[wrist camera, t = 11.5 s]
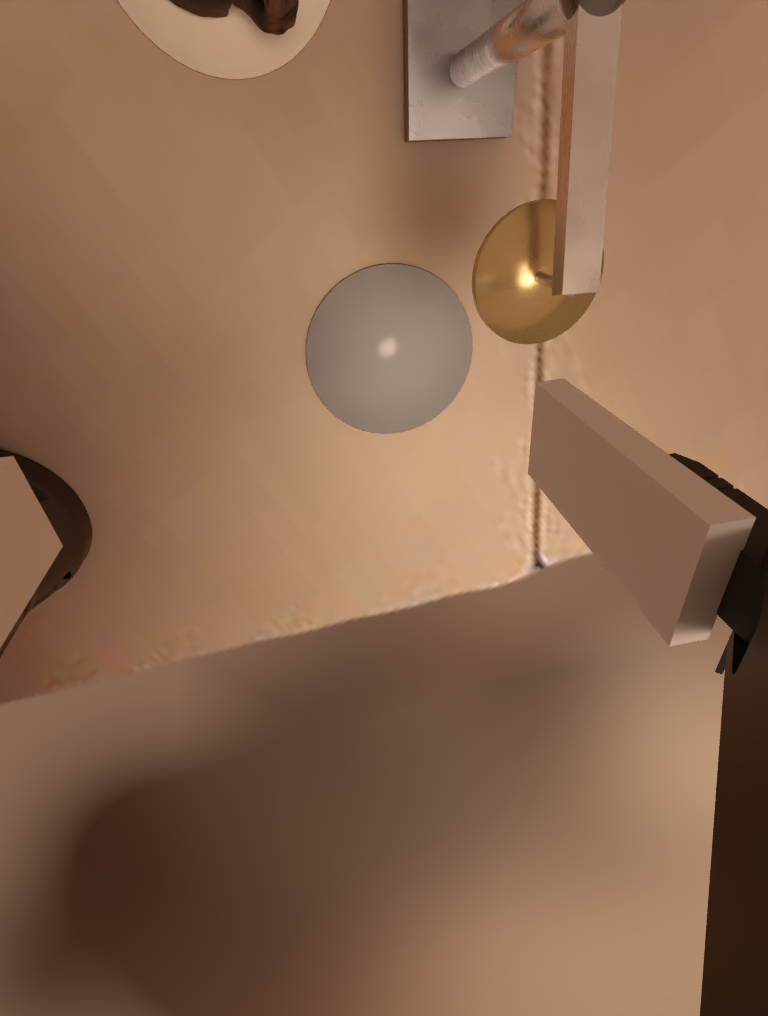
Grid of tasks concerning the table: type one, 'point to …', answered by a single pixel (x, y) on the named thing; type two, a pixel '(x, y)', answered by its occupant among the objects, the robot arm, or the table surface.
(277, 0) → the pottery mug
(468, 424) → the table surface
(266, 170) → the table surface
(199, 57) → the cream plate
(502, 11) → the balance
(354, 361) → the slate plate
